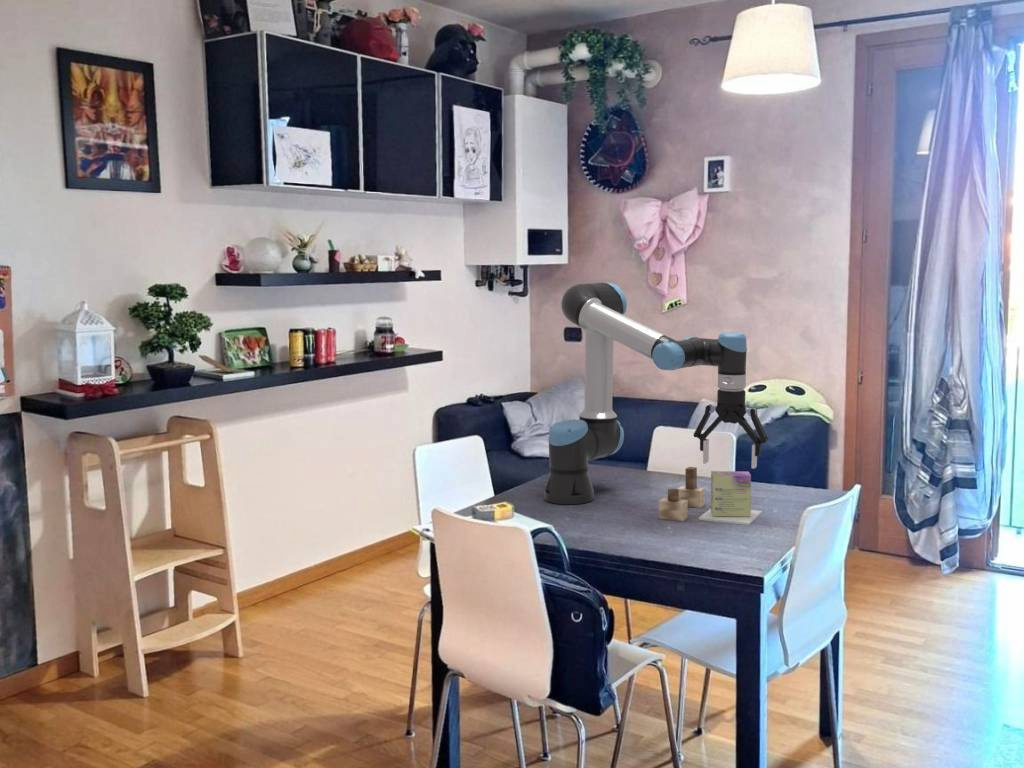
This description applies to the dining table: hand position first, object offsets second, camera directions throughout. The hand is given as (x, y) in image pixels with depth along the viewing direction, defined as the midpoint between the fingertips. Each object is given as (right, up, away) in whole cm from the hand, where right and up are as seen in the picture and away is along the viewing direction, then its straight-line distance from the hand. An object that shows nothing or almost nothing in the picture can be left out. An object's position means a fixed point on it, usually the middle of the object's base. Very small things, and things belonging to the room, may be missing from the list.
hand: (729, 465), depth 274 cm
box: (+1, -14, +2) cm, 14 cm away
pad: (+1, -14, +2) cm, 15 cm away
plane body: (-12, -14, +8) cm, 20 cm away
